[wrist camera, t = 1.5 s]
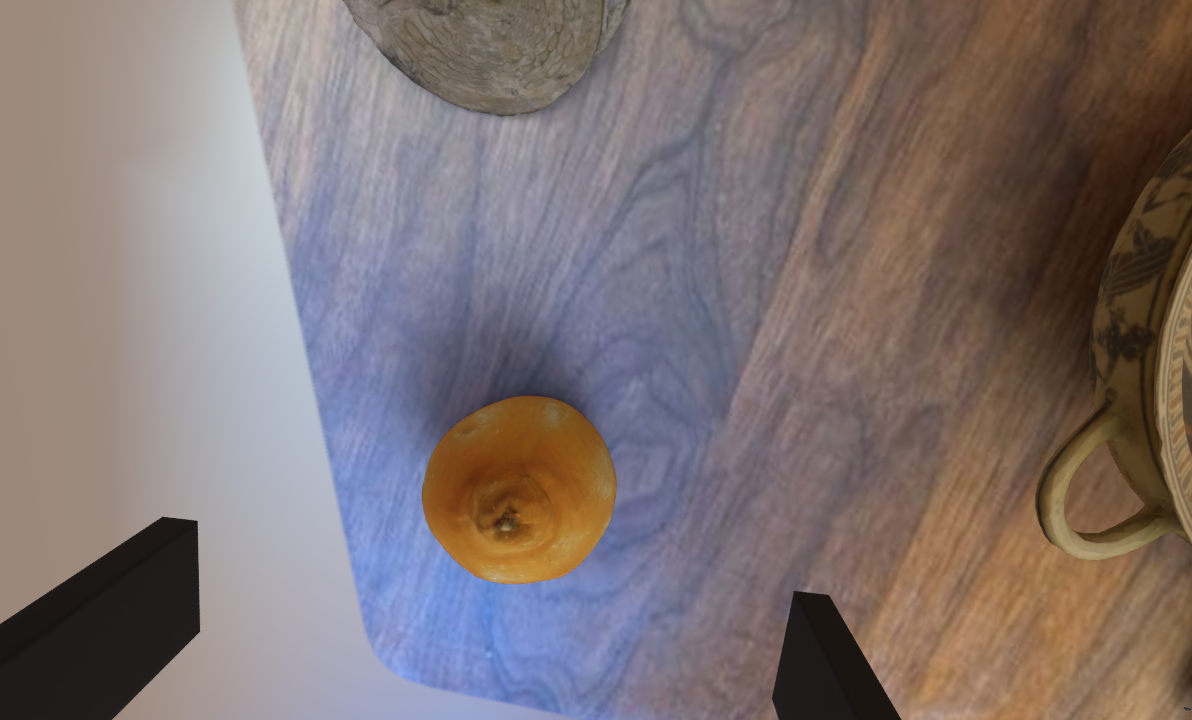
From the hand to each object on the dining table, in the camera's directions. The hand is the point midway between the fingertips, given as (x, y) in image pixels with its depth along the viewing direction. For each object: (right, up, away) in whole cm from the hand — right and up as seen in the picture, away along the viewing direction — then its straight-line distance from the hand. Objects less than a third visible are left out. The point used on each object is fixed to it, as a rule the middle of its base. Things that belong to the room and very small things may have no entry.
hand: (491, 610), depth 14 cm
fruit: (-1, +1, +17) cm, 17 cm away
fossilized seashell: (-1, +21, +13) cm, 25 cm away
